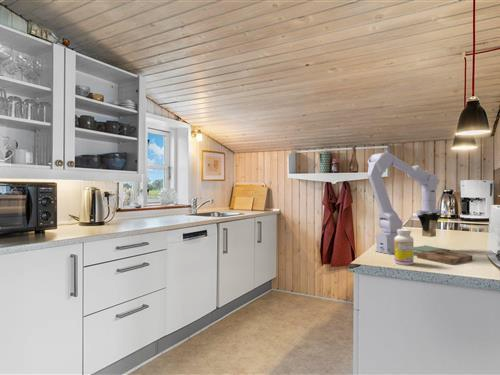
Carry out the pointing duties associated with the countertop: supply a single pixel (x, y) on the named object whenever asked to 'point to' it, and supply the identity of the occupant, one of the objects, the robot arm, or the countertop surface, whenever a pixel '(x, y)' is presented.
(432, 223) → the maple block
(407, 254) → the supplement bottle
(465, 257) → the pocket plate
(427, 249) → the rubber mat
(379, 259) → the countertop surface
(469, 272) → the countertop surface
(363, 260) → the countertop surface
